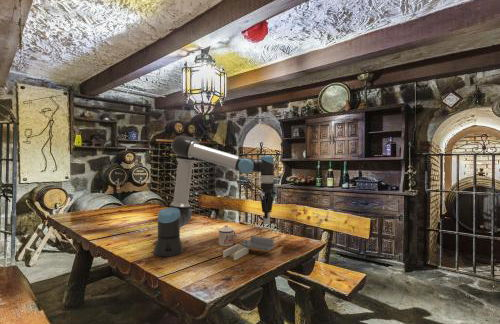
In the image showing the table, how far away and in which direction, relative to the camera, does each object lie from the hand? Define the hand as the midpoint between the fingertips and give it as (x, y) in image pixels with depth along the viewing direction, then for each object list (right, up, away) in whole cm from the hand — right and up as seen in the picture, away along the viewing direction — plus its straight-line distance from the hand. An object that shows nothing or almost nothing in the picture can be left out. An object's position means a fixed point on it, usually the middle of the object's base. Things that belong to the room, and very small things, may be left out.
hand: (266, 223), depth 158 cm
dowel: (-18, -15, -10) cm, 25 cm away
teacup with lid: (-23, -15, +11) cm, 30 cm away
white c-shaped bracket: (-16, -15, -7) cm, 23 cm away
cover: (-6, -11, -5) cm, 14 cm away
